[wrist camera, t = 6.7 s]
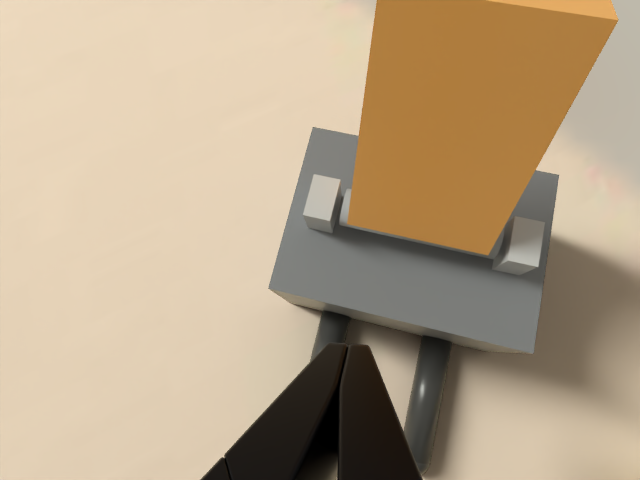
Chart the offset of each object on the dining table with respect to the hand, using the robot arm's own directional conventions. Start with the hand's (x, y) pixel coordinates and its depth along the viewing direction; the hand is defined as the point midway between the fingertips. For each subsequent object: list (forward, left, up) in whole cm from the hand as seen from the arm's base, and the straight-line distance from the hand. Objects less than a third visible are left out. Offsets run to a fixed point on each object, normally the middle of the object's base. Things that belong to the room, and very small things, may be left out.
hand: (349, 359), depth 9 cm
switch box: (+1, -2, -13) cm, 14 cm away
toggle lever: (+3, -4, -6) cm, 8 cm away
